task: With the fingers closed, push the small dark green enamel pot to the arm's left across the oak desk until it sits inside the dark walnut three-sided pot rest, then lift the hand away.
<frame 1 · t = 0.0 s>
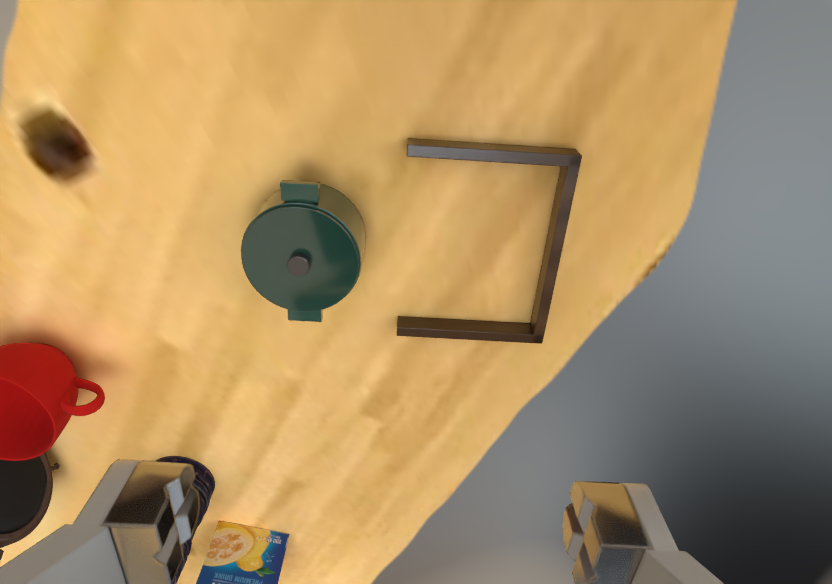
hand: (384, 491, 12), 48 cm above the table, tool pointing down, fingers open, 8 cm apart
alarm clock: (30, 442, 77), on the table
beverage box: (251, 540, 87), on the table
ceramic cup: (63, 363, 70), on the table
pot: (311, 234, 61), on the table
pot rest: (402, 239, 61), on the table
storage jar: (181, 479, 80), on the table
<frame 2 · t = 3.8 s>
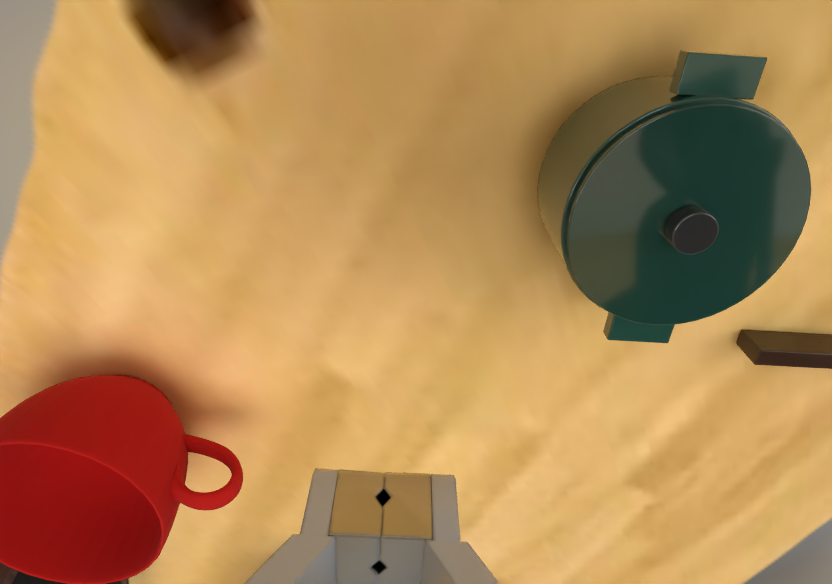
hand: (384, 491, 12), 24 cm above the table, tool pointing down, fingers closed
alarm clock: (92, 524, 49), on the table
ceramic cup: (157, 407, 42), on the table
pot: (637, 181, 33), on the table
pot rest: (799, 191, 34), on the table
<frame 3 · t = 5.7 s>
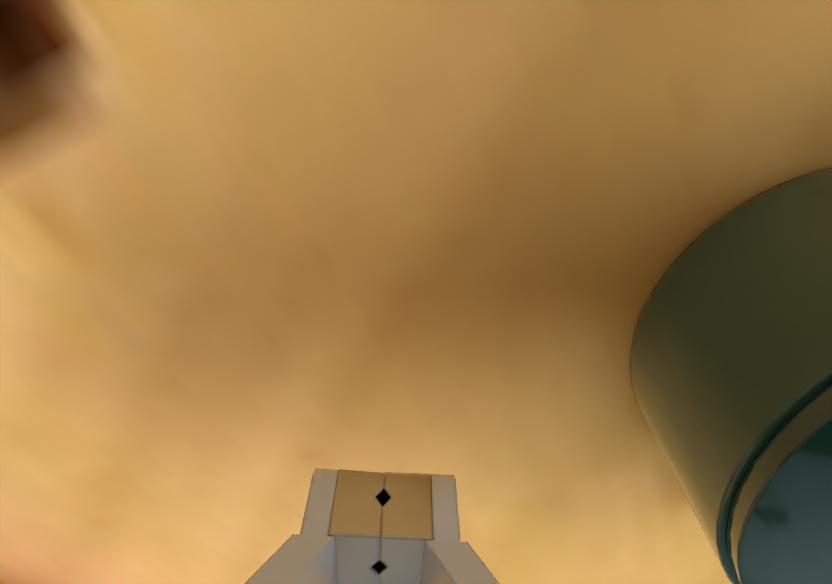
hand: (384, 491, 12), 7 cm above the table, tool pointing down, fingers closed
pot: (813, 337, 18), on the table
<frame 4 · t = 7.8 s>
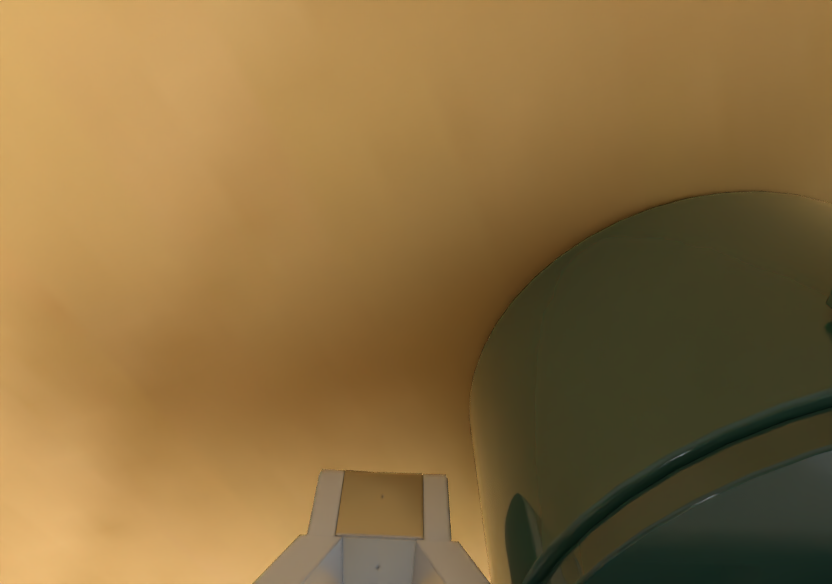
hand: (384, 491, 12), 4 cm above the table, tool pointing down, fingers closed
pot: (686, 398, 15), on the table, touching gripper
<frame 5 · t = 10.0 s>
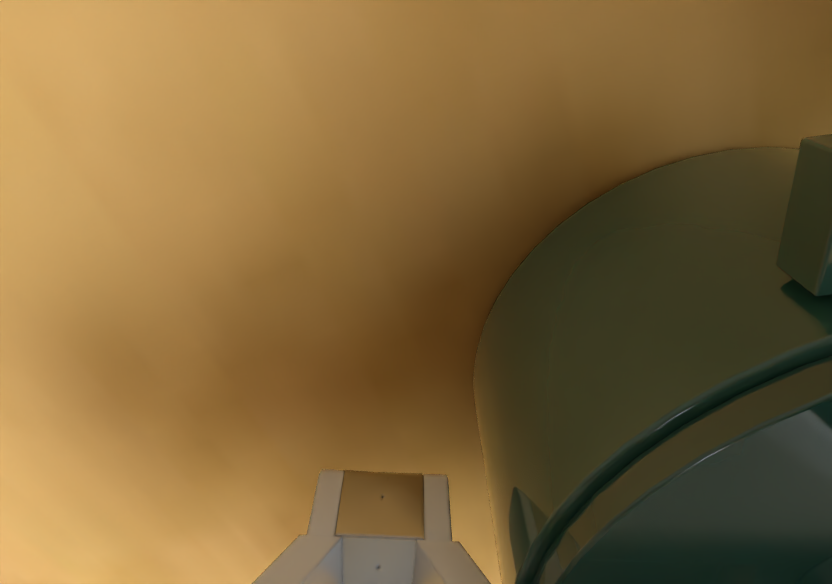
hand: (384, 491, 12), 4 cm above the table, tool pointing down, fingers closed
pot: (697, 370, 15), on the table, touching gripper
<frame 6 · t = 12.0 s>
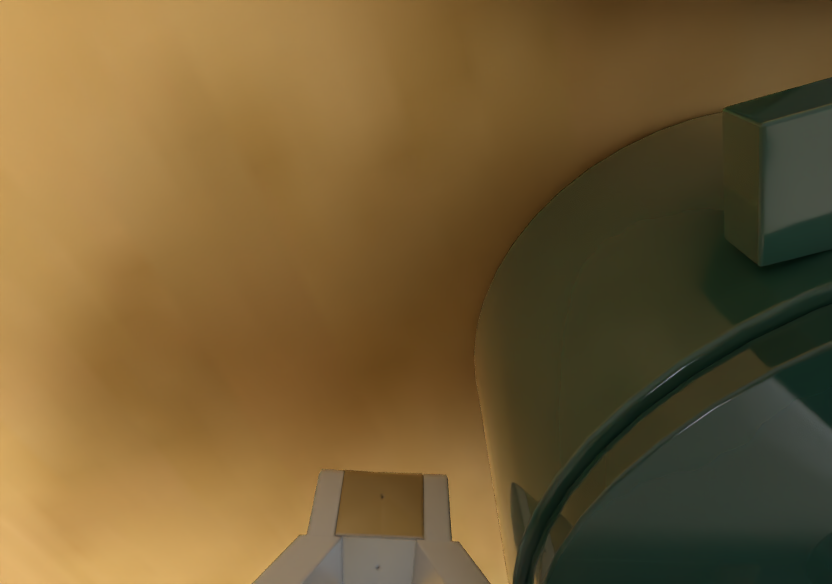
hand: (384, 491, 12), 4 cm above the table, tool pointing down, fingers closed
pot: (704, 344, 14), on the table, touching gripper
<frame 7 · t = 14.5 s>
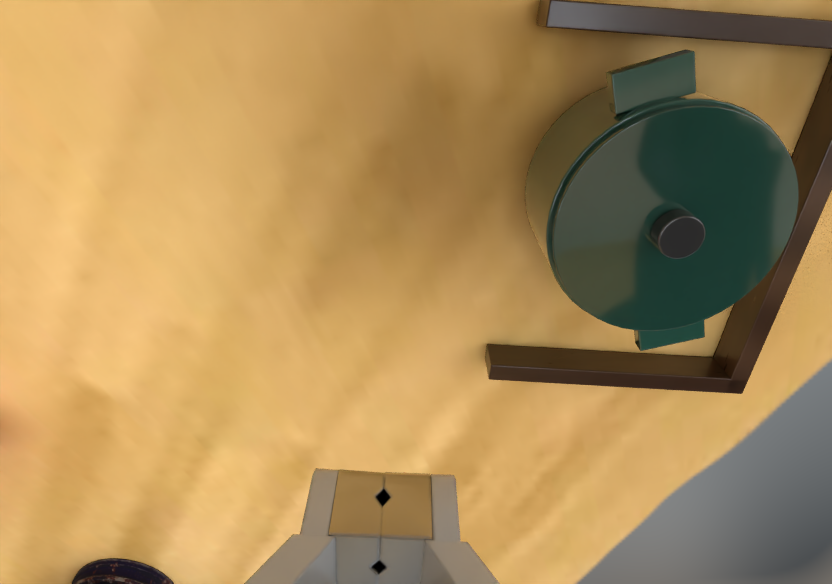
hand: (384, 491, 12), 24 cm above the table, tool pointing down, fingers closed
pot: (625, 186, 33), on the table
pot rest: (507, 206, 34), on the table
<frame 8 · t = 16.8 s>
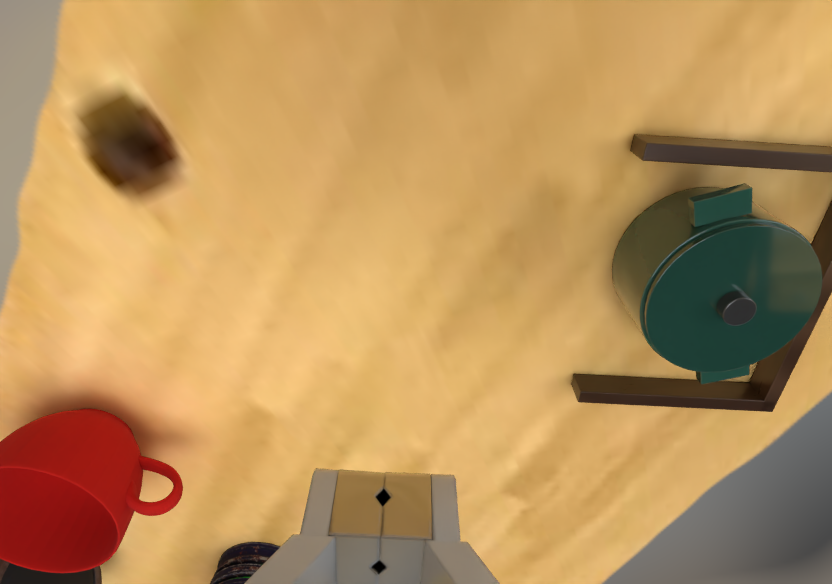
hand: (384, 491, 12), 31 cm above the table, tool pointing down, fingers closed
alarm clock: (71, 525, 60), on the table
ceramic cup: (120, 433, 53), on the table
pot: (688, 259, 44), on the table
pot rest: (598, 274, 44), on the table
storage jar: (261, 567, 63), on the table
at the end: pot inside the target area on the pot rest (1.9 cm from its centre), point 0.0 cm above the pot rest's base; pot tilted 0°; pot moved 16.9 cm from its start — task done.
